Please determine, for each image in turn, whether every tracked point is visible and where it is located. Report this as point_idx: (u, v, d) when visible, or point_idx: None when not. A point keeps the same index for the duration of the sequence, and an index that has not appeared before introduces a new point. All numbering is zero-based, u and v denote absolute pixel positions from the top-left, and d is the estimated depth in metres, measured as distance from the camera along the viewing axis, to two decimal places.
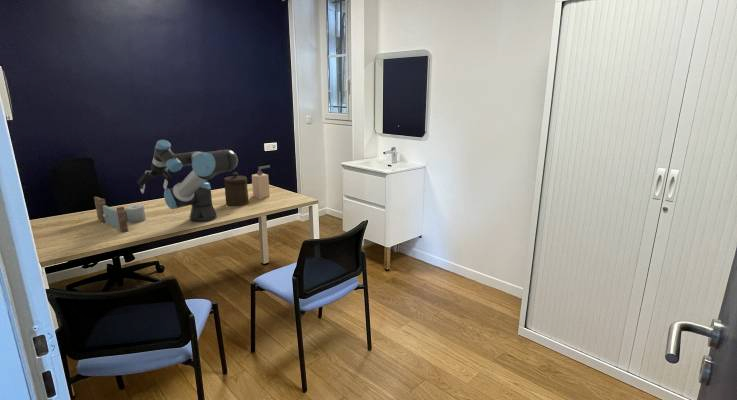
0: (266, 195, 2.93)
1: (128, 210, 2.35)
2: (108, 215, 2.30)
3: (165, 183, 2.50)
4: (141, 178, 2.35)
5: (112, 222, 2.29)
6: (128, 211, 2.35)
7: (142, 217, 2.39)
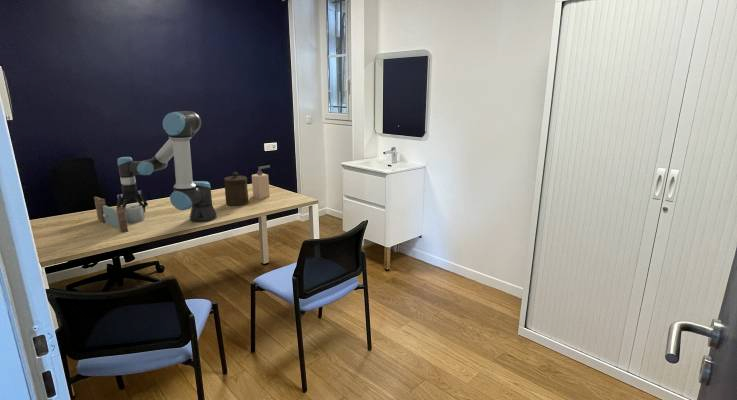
0: (266, 195, 2.93)
1: (126, 210, 2.35)
2: (108, 215, 2.30)
3: None
4: (117, 204, 2.32)
5: (112, 222, 2.29)
6: (126, 211, 2.35)
7: (140, 217, 2.39)
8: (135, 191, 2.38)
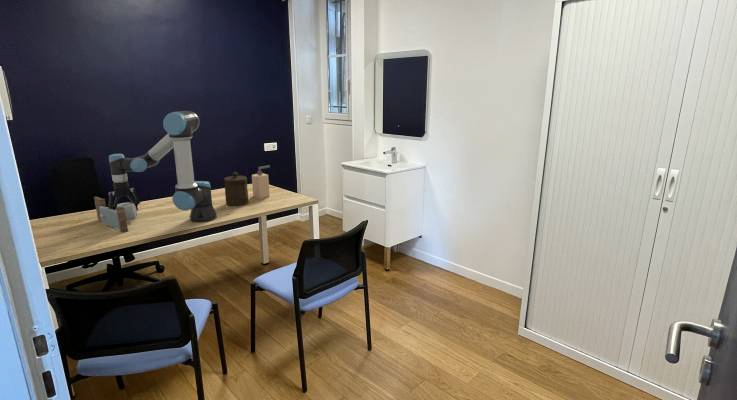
0: (266, 195, 2.93)
1: None
2: (106, 216, 2.29)
3: None
4: (109, 202, 2.29)
5: (111, 223, 2.28)
6: None
7: (132, 215, 2.35)
8: (127, 189, 2.34)
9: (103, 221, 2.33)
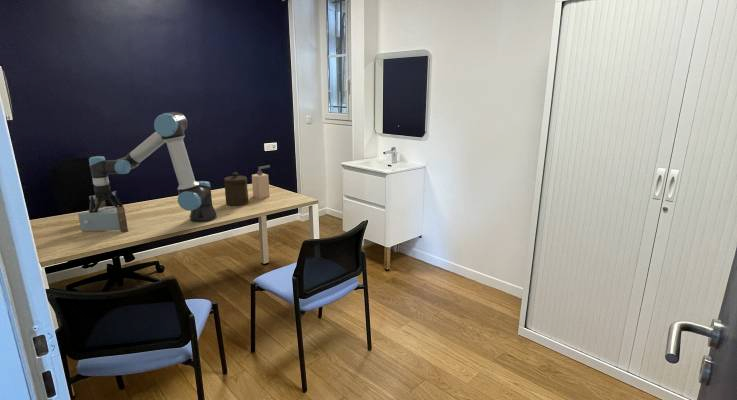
0: (266, 195, 2.93)
1: None
2: (92, 221, 2.21)
3: None
4: (90, 206, 2.21)
5: (102, 226, 2.22)
6: None
7: None
8: (109, 192, 2.27)
9: (85, 228, 2.21)
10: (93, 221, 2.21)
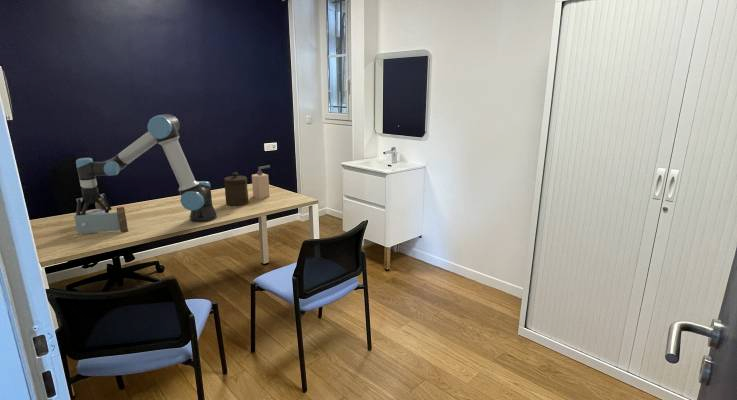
0: (266, 195, 2.93)
1: None
2: (90, 223, 2.18)
3: None
4: (77, 209, 2.17)
5: (101, 228, 2.20)
6: None
7: None
8: (97, 194, 2.22)
9: (82, 231, 2.17)
10: (91, 223, 2.18)
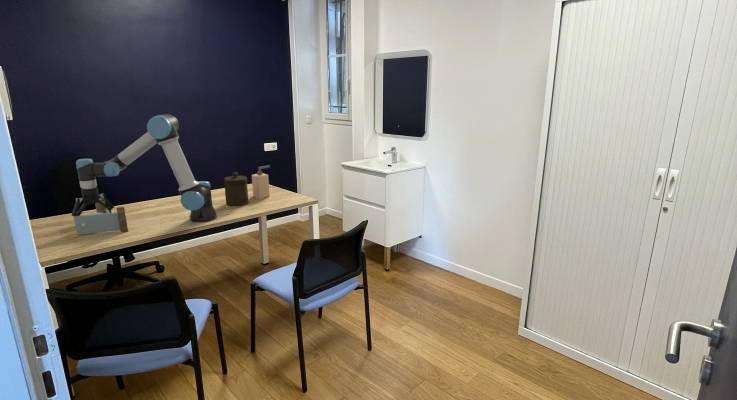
0: (266, 195, 2.93)
1: None
2: (90, 223, 2.17)
3: None
4: (74, 208, 2.15)
5: (101, 228, 2.20)
6: None
7: None
8: (96, 196, 2.22)
9: (82, 231, 2.17)
10: (91, 223, 2.17)
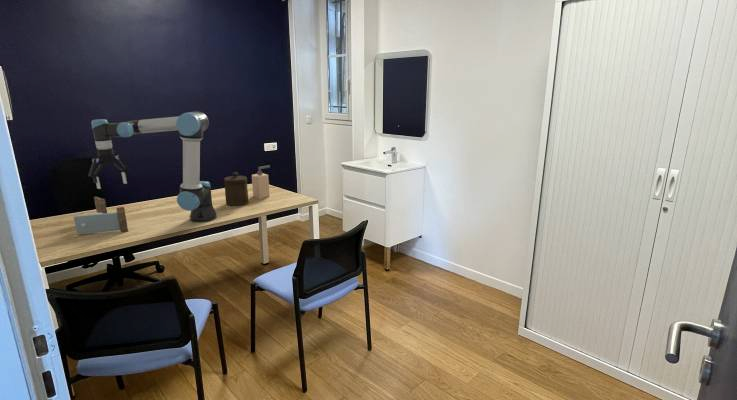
0: (266, 195, 2.93)
1: None
2: (90, 223, 2.17)
3: (123, 176, 2.29)
4: (91, 169, 2.16)
5: (101, 228, 2.20)
6: None
7: None
8: (112, 157, 2.23)
9: (82, 231, 2.17)
10: (91, 223, 2.17)
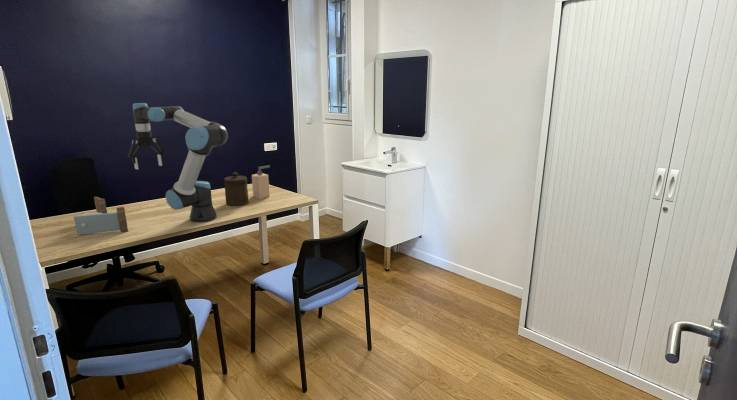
0: (266, 195, 2.93)
1: None
2: (90, 223, 2.17)
3: (159, 158, 2.40)
4: (130, 150, 2.27)
5: (101, 228, 2.20)
6: None
7: None
8: (150, 139, 2.33)
9: (82, 231, 2.17)
10: (91, 223, 2.17)
